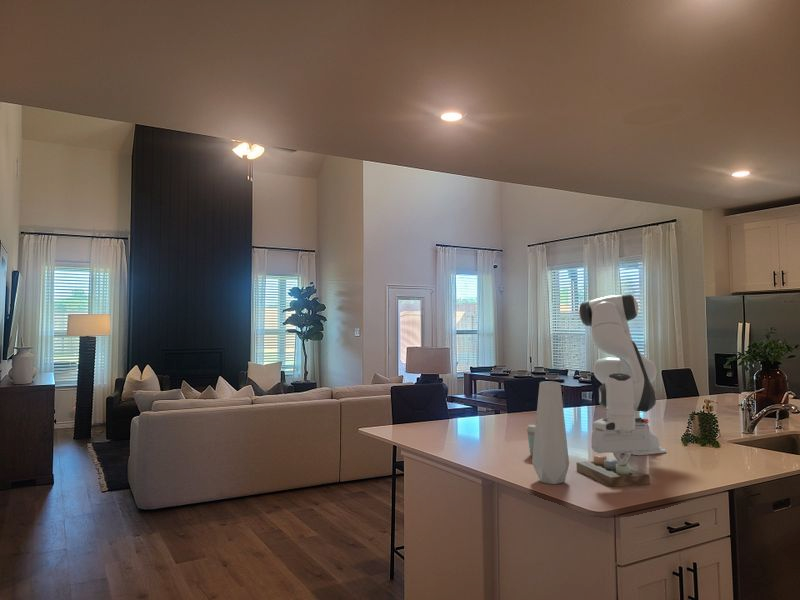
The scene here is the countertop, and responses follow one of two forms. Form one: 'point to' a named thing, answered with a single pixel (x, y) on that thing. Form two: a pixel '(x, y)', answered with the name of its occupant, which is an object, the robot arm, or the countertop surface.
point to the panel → (612, 475)
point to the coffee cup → (531, 437)
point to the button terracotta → (599, 459)
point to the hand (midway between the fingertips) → (622, 465)
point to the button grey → (610, 464)
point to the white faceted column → (550, 435)
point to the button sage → (623, 469)
